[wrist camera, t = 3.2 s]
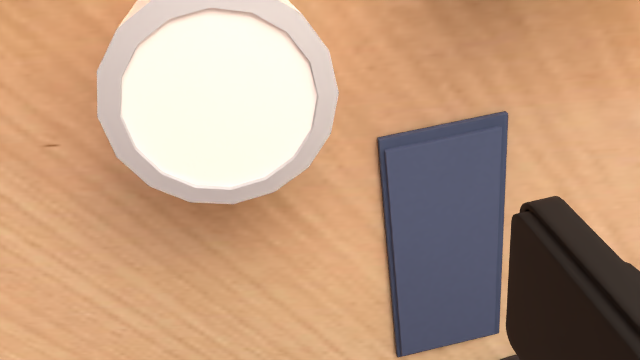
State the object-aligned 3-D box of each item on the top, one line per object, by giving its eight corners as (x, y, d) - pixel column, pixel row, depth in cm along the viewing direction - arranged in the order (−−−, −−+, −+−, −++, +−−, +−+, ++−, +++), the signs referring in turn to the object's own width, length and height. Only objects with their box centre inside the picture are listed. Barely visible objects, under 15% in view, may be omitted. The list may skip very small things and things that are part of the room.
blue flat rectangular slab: (505, 110, 28) (511, 115, 27) (497, 329, 35) (500, 336, 35) (377, 137, 27) (380, 142, 27) (396, 353, 34) (399, 360, 34)
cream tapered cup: (80, 42, 23) (43, 124, 17) (195, -109, 21) (199, -77, 15) (226, 144, 26) (238, 242, 20) (337, 20, 24) (386, 90, 18)
